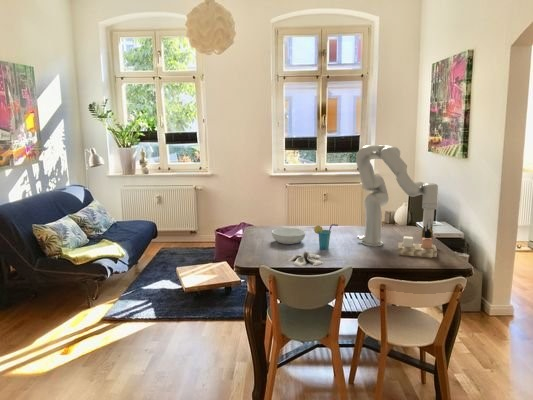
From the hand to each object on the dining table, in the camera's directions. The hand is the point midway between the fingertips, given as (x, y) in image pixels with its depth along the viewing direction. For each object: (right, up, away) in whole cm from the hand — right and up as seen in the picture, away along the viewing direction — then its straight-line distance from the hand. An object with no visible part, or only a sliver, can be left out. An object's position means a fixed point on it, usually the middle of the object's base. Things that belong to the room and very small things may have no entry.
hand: (427, 237), depth 236 cm
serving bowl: (-77, -5, +26) cm, 81 cm away
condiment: (+6, -6, +20) cm, 21 cm away
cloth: (-70, -12, -9) cm, 72 cm away
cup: (-56, -8, +12) cm, 57 cm away
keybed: (-5, -9, +3) cm, 11 cm away
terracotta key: (0, -7, +1) cm, 7 cm away
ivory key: (-10, -6, +4) cm, 12 cm away
